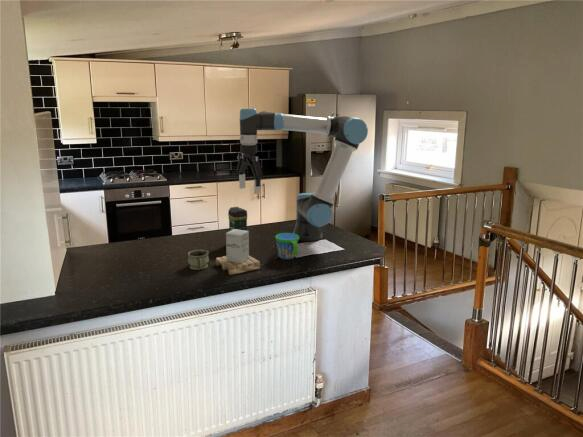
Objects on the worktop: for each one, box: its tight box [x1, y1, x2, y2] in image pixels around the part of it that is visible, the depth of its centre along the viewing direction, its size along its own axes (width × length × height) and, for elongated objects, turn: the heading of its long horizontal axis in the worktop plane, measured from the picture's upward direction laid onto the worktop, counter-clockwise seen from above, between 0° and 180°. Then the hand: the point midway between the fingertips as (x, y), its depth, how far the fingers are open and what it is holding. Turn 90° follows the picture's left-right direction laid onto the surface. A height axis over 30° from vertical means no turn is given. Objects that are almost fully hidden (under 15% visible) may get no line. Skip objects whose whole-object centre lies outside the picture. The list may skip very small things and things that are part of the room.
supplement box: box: [225, 229, 250, 263], centre depth 196 cm, size 7×7×13 cm
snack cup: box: [274, 232, 300, 261], centre depth 209 cm, size 16×10×10 cm
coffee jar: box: [227, 206, 248, 232], centre depth 225 cm, size 10×8×19 cm
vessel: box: [187, 249, 210, 271], centre depth 198 cm, size 12×9×6 cm
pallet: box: [215, 255, 261, 276], centre depth 198 cm, size 14×14×3 cm
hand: (249, 190), depth 212 cm, fingers open, 13 cm apart
